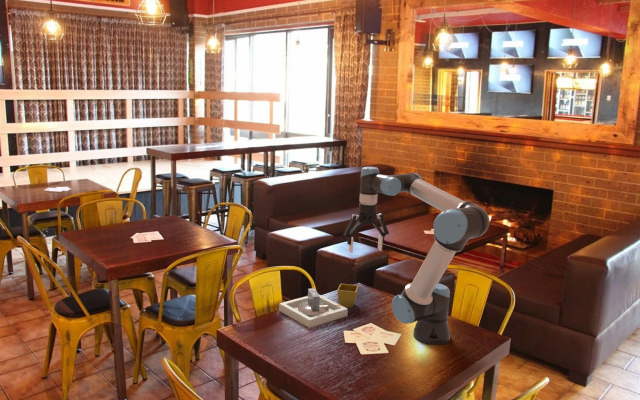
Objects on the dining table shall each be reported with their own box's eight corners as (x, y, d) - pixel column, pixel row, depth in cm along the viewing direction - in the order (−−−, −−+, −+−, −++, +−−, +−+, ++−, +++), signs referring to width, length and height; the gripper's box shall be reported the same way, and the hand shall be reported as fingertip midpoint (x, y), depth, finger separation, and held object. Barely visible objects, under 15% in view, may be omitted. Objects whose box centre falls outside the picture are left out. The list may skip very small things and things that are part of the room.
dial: (324, 303, 265) (325, 286, 263) (332, 315, 252) (333, 297, 250) (295, 305, 262) (295, 287, 260) (301, 317, 248) (301, 299, 247)
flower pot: (354, 310, 263) (356, 291, 261) (336, 308, 264) (337, 289, 262) (357, 303, 271) (358, 285, 269) (339, 301, 273) (340, 283, 271)
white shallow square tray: (347, 315, 256) (347, 308, 255) (309, 327, 242) (309, 319, 241) (316, 300, 272) (316, 293, 272) (279, 310, 258) (279, 302, 258)
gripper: (391, 200, 249) (388, 246, 254) (337, 202, 242) (335, 249, 246) (398, 204, 242) (395, 251, 247) (343, 205, 235) (341, 255, 239)
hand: (365, 251), depth 247 cm, fingers open, 13 cm apart
